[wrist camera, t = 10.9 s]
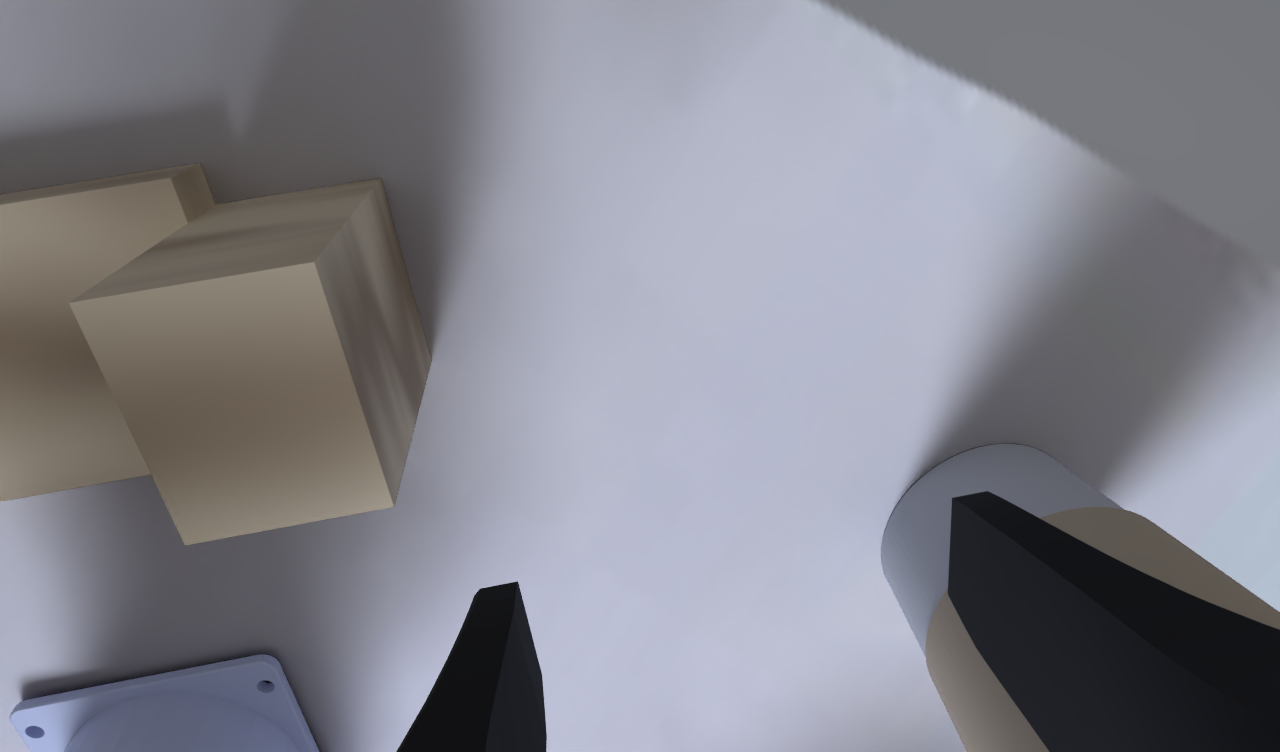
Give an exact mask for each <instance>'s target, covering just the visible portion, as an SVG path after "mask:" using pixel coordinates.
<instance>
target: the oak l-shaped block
mask: <svg viewBox="0 0 1280 752" xmlns="http://www.w3.org/2000/svg"><path fill="white" fill-rule="evenodd" d="M431 361H432V360H431V357H430V353H429V350H428V346H427V342H426V339H425V335H424V331H423V328H422V324H421V320H420V317H419V313H418V310H417V306H416V302H415V299H414V295H413V291H412V288H411V284H410V280H409V277H408V273H407V270H406V266H405V262H404V259H403V255H402V251H401V248H400V244H399V240H398V237H397V233H396V230H395V226H394V222H393V219H392V215H391V211H390V208H389V204H388V200H387V197H386V193H385V190H384V186H383V182H382V179H381V178H376V179H370V180H364V181H358V182H351V183H345V184H339V185H333V186H327V187H320V188H314V189H308V190H302V191H296V192H289V193H283V194H277V195H271V196H265V197H258V198H252V199H246V200H240V201H234V202H227V203H221V204H215V202H214V199H213V196H212V193H211V191H210V188H209V185H208V183H207V180H206V177H205V175H204V172H203V169H202V166H201V164H200V163H196V164H190V165H183V166H177V167H171V168H164V169H158V170H152V171H145V172H139V173H133V174H126V175H120V176H114V177H107V178H101V179H95V180H88V181H82V182H76V183H69V184H63V185H57V186H51V187H44V188H38V189H32V190H25V191H19V192H13V193H6V194H0V502H1V501H7V500H12V499H18V498H24V497H29V496H35V495H40V494H46V493H51V492H57V491H63V490H68V489H74V488H79V487H85V486H90V485H96V484H102V483H107V482H113V481H118V480H124V479H130V478H135V477H141V476H146V475H151V476H152V478H153V480H154V482H155V484H156V486H157V489H158V491H159V493H160V495H161V497H162V499H163V501H164V503H165V505H166V507H167V509H168V512H169V514H170V516H171V518H172V520H173V522H174V524H175V526H176V528H177V530H178V532H179V535H180V537H181V539H182V541H183V543H184V545H185V546H186V545H191V544H197V543H202V542H208V541H213V540H219V539H224V538H229V537H235V536H240V535H246V534H251V533H256V532H262V531H267V530H273V529H278V528H283V527H289V526H294V525H300V524H305V523H310V522H316V521H321V520H327V519H332V518H338V517H343V516H348V515H354V514H359V513H365V512H370V511H375V510H381V509H386V508H392V507H394V506H395V502H396V498H397V494H398V490H399V486H400V482H401V478H402V474H403V471H404V467H405V463H406V459H407V455H408V451H409V447H410V443H411V439H412V435H413V432H414V428H415V424H416V420H417V416H418V412H419V408H420V404H421V400H422V396H423V393H424V389H425V385H426V381H427V377H428V373H429V369H430V365H431Z"/></svg>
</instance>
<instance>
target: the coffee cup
mask: <svg viewBox="0 0 1280 752" xmlns="http://www.w3.org/2000/svg"><path fill="white" fill-rule="evenodd" d="M985 491H989V492H991V493H993V494H995V495H997V496H999V497H1001V498H1003V499H1005V500H1007V501H1009V502H1011V503H1012V504H1014V505H1016V506H1018V507H1020V508H1022V509H1024V510H1025V511H1027V512H1029V513H1031V514H1033V515H1035V516H1036V517H1038V518H1040V519H1042V520H1044V521H1046V522H1047V523H1049V524H1051V525H1053V526H1055V527H1057V528H1058V529H1060V530H1062V531H1064V532H1066V533H1068V534H1069V535H1071V536H1073V537H1075V538H1077V539H1079V540H1081V541H1083V542H1084V543H1086V544H1088V545H1090V546H1092V547H1094V548H1096V549H1098V550H1100V551H1102V552H1103V553H1105V554H1107V555H1109V556H1111V557H1113V558H1115V559H1117V560H1119V561H1121V562H1123V563H1125V564H1127V565H1129V566H1131V567H1133V568H1135V569H1137V570H1139V571H1141V572H1143V573H1146V574H1148V575H1150V576H1152V577H1154V578H1156V579H1158V580H1161V581H1163V582H1165V583H1167V584H1169V585H1171V586H1173V587H1176V588H1178V589H1180V590H1182V591H1184V592H1187V593H1189V594H1191V595H1193V596H1196V597H1198V598H1200V599H1203V600H1205V601H1207V602H1210V603H1212V604H1215V605H1217V606H1220V607H1222V608H1225V609H1227V610H1230V611H1232V612H1235V613H1237V614H1240V615H1243V616H1245V617H1248V618H1250V619H1253V620H1255V621H1258V622H1260V623H1263V624H1266V625H1268V626H1271V627H1274V628H1277V629H1280V612H1278V611H1277V610H1276V609H1274V608H1273V607H1271V606H1270V605H1269V604H1267V603H1266V602H1264V601H1263V600H1262V599H1260V598H1259V597H1257V596H1256V595H1254V594H1253V593H1252V592H1250V591H1249V590H1247V589H1246V588H1245V587H1243V586H1242V585H1240V584H1239V583H1238V582H1236V581H1235V580H1233V579H1232V578H1231V577H1229V576H1228V575H1226V574H1225V573H1223V572H1222V571H1221V570H1219V569H1218V568H1216V567H1215V566H1214V565H1212V564H1211V563H1209V562H1208V561H1207V560H1205V559H1204V558H1202V557H1201V556H1199V555H1198V554H1197V553H1195V552H1194V551H1192V550H1191V549H1190V548H1188V547H1187V546H1185V545H1184V544H1183V543H1181V542H1180V541H1178V540H1177V539H1176V538H1174V537H1173V536H1171V535H1170V534H1168V533H1167V532H1166V531H1164V530H1163V529H1161V528H1160V527H1159V526H1157V525H1156V524H1154V523H1153V522H1151V521H1150V520H1148V519H1147V518H1145V517H1143V516H1141V515H1138V514H1136V513H1133V512H1130V511H1127V510H1124V509H1123V508H1122V507H1120V506H1119V505H1117V504H1116V503H1115V502H1113V501H1112V500H1110V499H1109V498H1108V497H1106V496H1105V495H1104V494H1102V493H1101V492H1099V491H1098V490H1097V489H1095V488H1094V487H1092V486H1091V485H1090V484H1088V483H1087V482H1086V481H1084V480H1083V479H1081V478H1080V477H1079V476H1077V475H1076V474H1074V473H1073V472H1072V471H1070V470H1069V469H1068V468H1066V467H1065V466H1063V465H1062V464H1061V463H1059V462H1058V461H1056V460H1055V459H1054V458H1052V457H1051V456H1049V455H1048V454H1046V453H1044V452H1042V451H1040V450H1038V449H1035V448H1032V447H1029V446H1024V445H1018V444H994V445H987V446H982V447H978V448H974V449H971V450H968V451H965V452H963V453H960V454H958V455H956V456H954V457H951V458H949V459H948V460H946V461H944V462H942V463H941V464H939V465H937V466H936V467H934V468H933V469H932V470H930V471H929V472H927V473H926V474H925V475H924V476H923V477H921V478H920V479H919V480H918V481H917V482H916V483H915V484H914V485H913V486H912V487H911V488H910V489H909V490H908V491H907V492H906V494H905V495H904V496H903V497H902V499H901V500H900V502H899V503H898V504H897V506H896V508H895V509H894V511H893V513H892V515H891V517H890V519H889V521H888V523H887V526H886V529H885V532H884V536H883V540H882V547H881V560H882V566H883V571H884V574H885V576H886V579H887V581H888V583H889V585H890V587H891V589H892V591H893V593H894V595H895V597H896V599H897V601H898V603H899V605H900V607H901V609H902V611H903V613H904V615H905V617H906V619H907V621H908V623H909V625H910V627H911V629H912V631H913V633H914V635H915V637H916V639H917V641H918V643H919V645H920V647H921V649H922V651H923V653H924V655H925V657H926V662H927V667H928V671H929V674H930V676H931V678H932V681H933V683H934V685H935V687H936V689H937V691H938V693H939V695H940V697H941V699H942V701H943V703H944V705H945V707H946V709H947V712H948V714H949V716H950V718H951V720H952V722H953V724H954V726H955V728H956V730H957V732H958V734H959V736H960V738H961V740H962V743H963V745H964V747H965V749H966V751H967V752H1049V750H1048V749H1047V748H1046V746H1045V745H1044V743H1043V742H1042V741H1041V739H1040V738H1039V736H1038V735H1037V734H1036V732H1035V731H1034V729H1033V728H1032V727H1031V725H1030V724H1029V722H1028V721H1027V720H1026V718H1025V717H1024V715H1023V714H1022V713H1021V711H1020V710H1019V708H1018V707H1017V706H1016V704H1015V703H1014V701H1013V700H1012V699H1011V697H1010V696H1009V694H1008V693H1007V692H1006V690H1005V689H1004V687H1003V686H1002V685H1001V683H1000V682H999V680H998V679H997V677H996V676H995V675H994V673H993V672H992V670H991V669H990V667H989V666H988V665H987V663H986V662H985V660H984V659H983V657H982V656H981V654H980V653H979V652H978V650H977V649H976V647H975V645H974V643H973V641H972V640H971V638H970V636H969V634H968V632H967V630H966V629H965V627H964V625H963V623H962V621H961V619H960V617H959V615H958V613H957V611H956V609H955V608H954V606H953V604H952V602H951V600H950V598H949V596H948V575H949V553H950V531H951V509H952V498H954V497H959V496H964V495H969V494H974V493H980V492H985Z"/></svg>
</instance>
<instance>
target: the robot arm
mask: <svg viewBox="0 0 1280 752" xmlns="http://www.w3.org/2000/svg"><path fill="white" fill-rule="evenodd" d="M948 596H949V598H950V600H951V602H952V604H953V606H954V608H955V609H956V611H957V613H958V615H959V617H960V619H961V621H962V623H963V625H964V627H965V629H966V630H967V632H968V634H969V636H970V638H971V640H972V641H973V643H974V645H975V647H976V649H977V650H978V652H979V653H980V654H981V656H982V657H983V659H984V660H985V662H986V663H987V665H988V666H989V667H990V669H991V670H992V672H993V673H994V675H995V676H996V677H997V679H998V680H999V682H1000V683H1001V685H1002V686H1003V687H1004V689H1005V690H1006V692H1007V693H1008V694H1009V696H1010V697H1011V699H1012V700H1013V701H1014V703H1015V704H1016V706H1017V707H1018V708H1019V710H1020V711H1021V713H1022V714H1023V715H1024V717H1025V718H1026V720H1027V721H1028V722H1029V724H1030V725H1031V727H1032V728H1033V729H1034V731H1035V732H1036V734H1037V735H1038V736H1039V738H1040V739H1041V741H1042V742H1043V743H1044V745H1045V746H1046V748H1047V749H1048V750H1049V752H1280V629H1277V628H1274V627H1271V626H1268V625H1266V624H1263V623H1260V622H1258V621H1255V620H1253V619H1250V618H1248V617H1245V616H1243V615H1240V614H1237V613H1235V612H1232V611H1230V610H1227V609H1225V608H1222V607H1220V606H1217V605H1215V604H1212V603H1210V602H1207V601H1205V600H1203V599H1200V598H1198V597H1196V596H1193V595H1191V594H1189V593H1187V592H1184V591H1182V590H1180V589H1178V588H1176V587H1173V586H1171V585H1169V584H1167V583H1165V582H1163V581H1161V580H1158V579H1156V578H1154V577H1152V576H1150V575H1148V574H1146V573H1143V572H1141V571H1139V570H1137V569H1135V568H1133V567H1131V566H1129V565H1127V564H1125V563H1123V562H1121V561H1119V560H1117V559H1115V558H1113V557H1111V556H1109V555H1107V554H1105V553H1103V552H1102V551H1100V550H1098V549H1096V548H1094V547H1092V546H1090V545H1088V544H1086V543H1084V542H1083V541H1081V540H1079V539H1077V538H1075V537H1073V536H1071V535H1069V534H1068V533H1066V532H1064V531H1062V530H1060V529H1058V528H1057V527H1055V526H1053V525H1051V524H1049V523H1047V522H1046V521H1044V520H1042V519H1040V518H1038V517H1036V516H1035V515H1033V514H1031V513H1029V512H1027V511H1025V510H1024V509H1022V508H1020V507H1018V506H1016V505H1014V504H1012V503H1011V502H1009V501H1007V500H1005V499H1003V498H1001V497H999V496H997V495H995V494H993V493H991V492H989V491H985V492H980V493H974V494H969V495H964V496H959V497H954V498H952V509H951V531H950V553H949V575H948ZM263 680H268V681H270V682H272V683H266V682H263ZM10 721H11V723H12V725H13V726H14V727H15V729H16V730H17V732H18V733H19V735H20V736H21V738H22V739H23V741H24V742H25V744H26V745H27V747H28V748H29V750H30V751H31V752H319V750H318V747H317V745H316V743H315V741H314V739H313V736H312V734H311V732H310V730H309V727H308V725H307V723H306V721H305V719H304V716H303V714H302V712H301V710H300V707H299V705H298V703H297V701H296V699H295V696H294V694H293V692H292V690H291V687H290V685H289V683H288V681H287V679H286V676H285V674H284V672H283V670H282V667H281V665H280V663H279V662H278V661H277V659H275V658H274V657H272V656H269V655H265V654H264V655H254V656H249V657H244V658H239V659H234V660H229V661H223V662H218V663H213V664H208V665H203V666H198V667H193V668H187V669H182V670H177V671H172V672H167V673H162V674H157V675H151V676H146V677H141V678H136V679H131V680H126V681H121V682H116V683H110V684H105V685H100V686H95V687H90V688H85V689H80V690H74V691H69V692H64V693H59V694H54V695H49V696H44V697H38V698H33V699H28V700H24V701H22V702H20V703H19V704H17V705H16V707H15V708H14V710H13V711H12V712H11V714H10ZM37 726H38V727H37ZM40 727H41V728H40ZM397 752H546V722H545V708H544V695H543V682H542V674H541V670H540V666H539V662H538V658H537V654H536V650H535V646H534V642H533V639H532V635H531V631H530V627H529V623H528V619H527V615H526V611H525V607H524V604H523V600H522V596H521V592H520V588H519V584H518V582H513V583H508V584H503V585H497V586H492V587H487V588H482V589H480V590H479V591H478V592H477V593H476V595H475V596H474V598H473V601H472V604H471V606H470V609H469V611H468V614H467V616H466V618H465V621H464V623H463V626H462V628H461V630H460V632H459V635H458V637H457V639H456V641H455V643H454V646H453V648H452V650H451V652H450V654H449V656H448V658H447V660H446V662H445V664H444V666H443V668H442V670H441V672H440V674H439V676H438V678H437V680H436V682H435V684H434V686H433V688H432V690H431V692H430V694H429V696H428V698H427V700H426V702H425V703H424V705H423V707H422V709H421V710H420V712H419V714H418V716H417V717H416V719H415V721H414V723H413V724H412V726H411V728H410V729H409V731H408V733H407V735H406V736H405V738H404V740H403V742H402V743H401V745H400V747H399V748H398V750H397Z"/></svg>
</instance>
